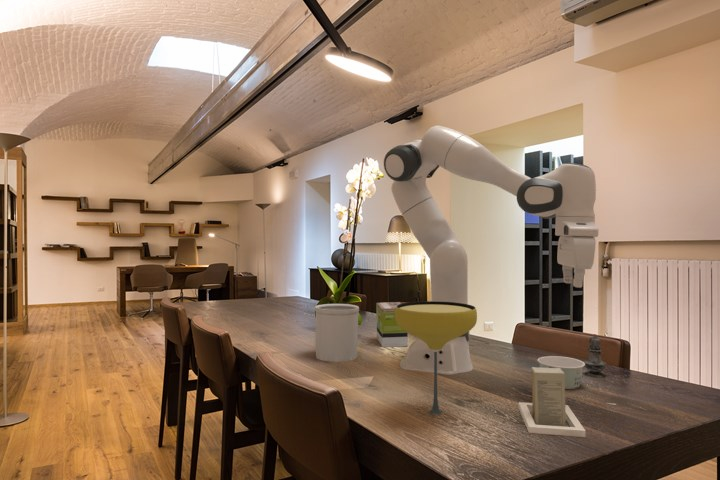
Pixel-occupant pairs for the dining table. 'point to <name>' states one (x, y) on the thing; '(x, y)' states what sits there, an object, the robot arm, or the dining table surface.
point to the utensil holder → (336, 332)
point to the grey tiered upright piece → (594, 359)
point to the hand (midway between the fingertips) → (572, 285)
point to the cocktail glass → (436, 326)
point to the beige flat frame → (574, 430)
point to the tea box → (389, 326)
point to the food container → (565, 368)
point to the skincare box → (548, 396)
